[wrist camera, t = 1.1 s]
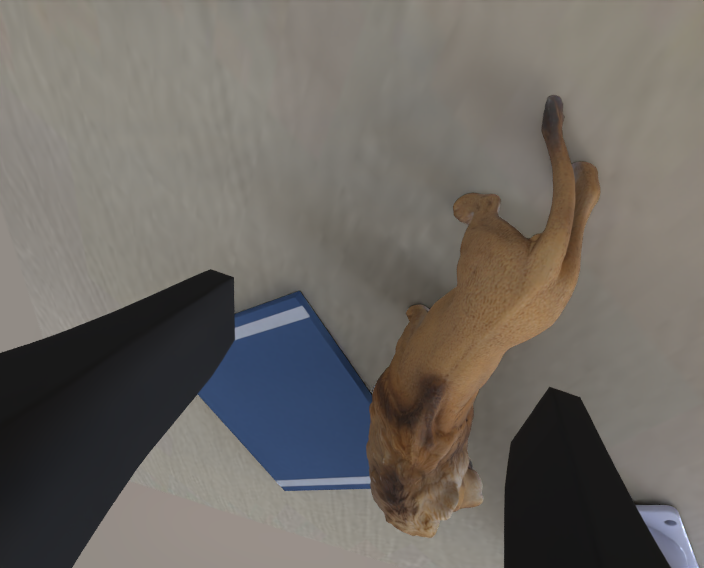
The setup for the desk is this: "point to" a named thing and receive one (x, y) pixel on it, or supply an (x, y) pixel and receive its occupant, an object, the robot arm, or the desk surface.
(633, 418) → the desk surface
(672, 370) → the desk surface
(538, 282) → the lion figurine
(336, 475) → the towel
